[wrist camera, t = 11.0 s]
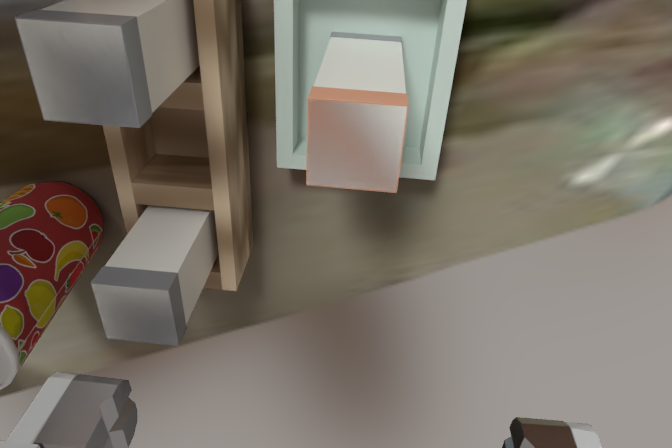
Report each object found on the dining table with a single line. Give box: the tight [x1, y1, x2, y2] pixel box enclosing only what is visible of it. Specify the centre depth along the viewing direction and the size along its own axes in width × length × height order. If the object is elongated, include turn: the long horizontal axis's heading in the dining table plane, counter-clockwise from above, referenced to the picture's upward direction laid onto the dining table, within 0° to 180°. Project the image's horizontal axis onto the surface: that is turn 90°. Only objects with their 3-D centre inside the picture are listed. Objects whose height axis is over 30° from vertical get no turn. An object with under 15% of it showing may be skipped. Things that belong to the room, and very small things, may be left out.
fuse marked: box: [306, 32, 409, 193], centre depth 27 cm, size 4×4×11 cm
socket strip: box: [103, 0, 254, 291], centre depth 32 cm, size 21×7×6 cm, turn 177°
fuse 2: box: [91, 205, 219, 346], centre depth 32 cm, size 4×4×11 cm
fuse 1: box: [14, 0, 200, 128], centre depth 25 cm, size 4×4×11 cm
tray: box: [274, 0, 467, 180], centre depth 30 cm, size 12×10×3 cm
